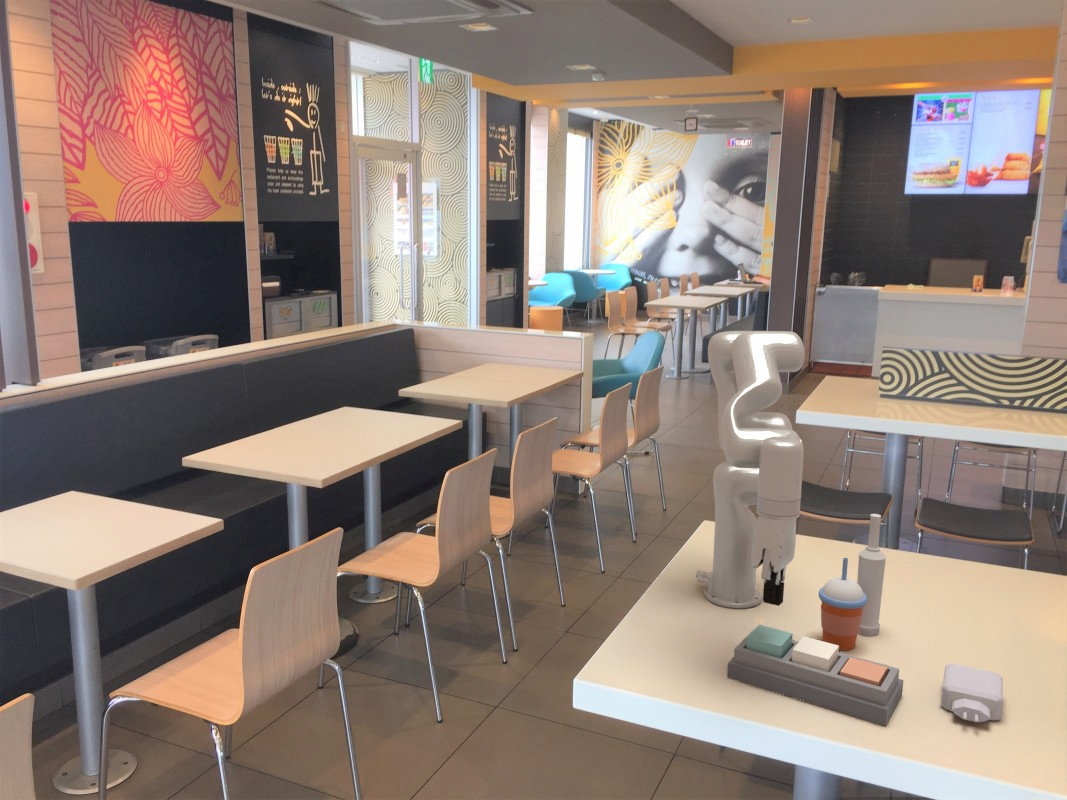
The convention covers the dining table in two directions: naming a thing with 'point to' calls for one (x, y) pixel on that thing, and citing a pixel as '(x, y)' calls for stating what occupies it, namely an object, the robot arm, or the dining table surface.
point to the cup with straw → (841, 610)
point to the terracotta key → (864, 671)
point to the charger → (972, 693)
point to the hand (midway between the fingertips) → (772, 602)
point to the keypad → (818, 683)
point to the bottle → (871, 579)
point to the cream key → (815, 654)
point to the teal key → (769, 641)
